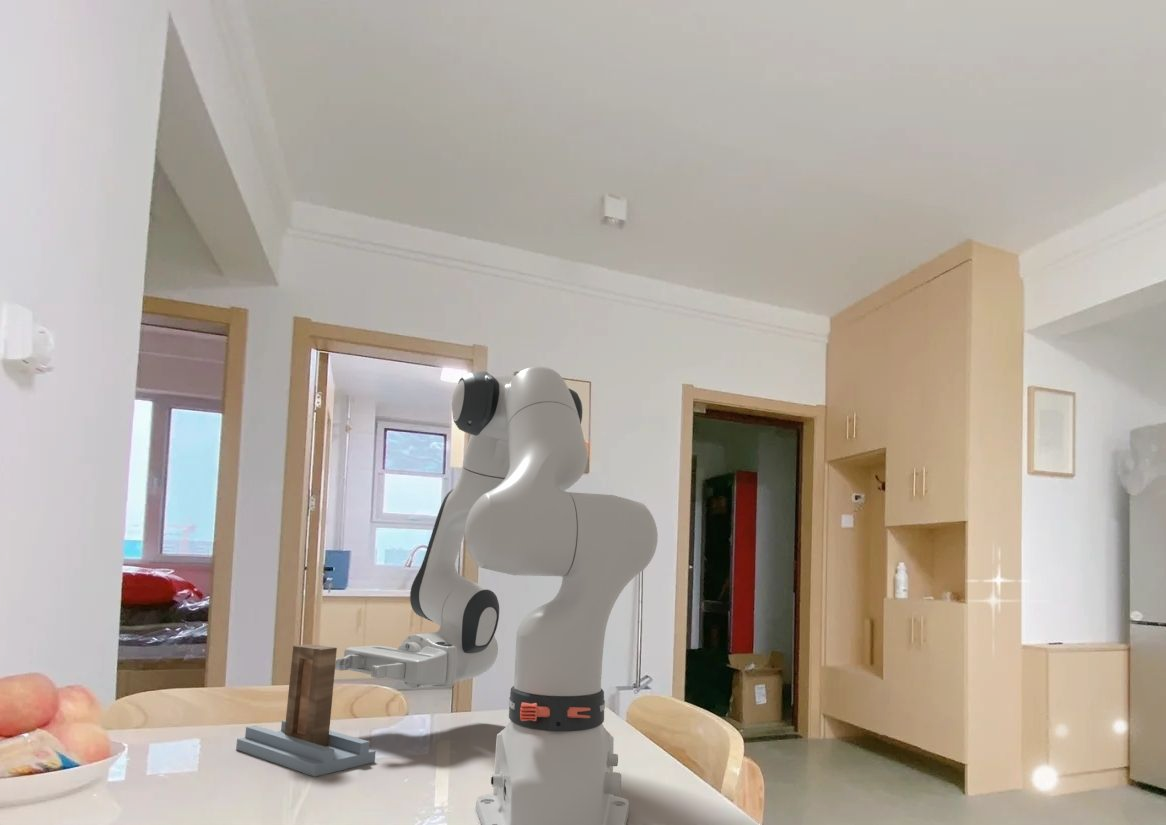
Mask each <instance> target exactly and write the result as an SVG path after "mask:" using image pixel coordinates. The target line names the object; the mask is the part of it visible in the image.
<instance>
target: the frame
mask: <svg viewBox="0 0 1166 825" xmlns="http://www.w3.org/2000/svg"><path fill="white" fill-rule="evenodd" d="M337 649H338V647H334V646H327V645H317V644H311V643H310V644H309V643H308V644H300V645H293V646H292V654H291V655H292V656H291V663H290V664H291V666H290V673H289V674H290V675H289V685H288V686H289V687H288V694H287V705H286V706H287V707H286V712H285V713H286V714H285V715H286V716H285V720H286V723H285V733H284V734H285V735H289V736H292V737H295V738H298V739H302V740H305V741H308V742H312V743H315V744H318V745H321V746H325V747H326V746H328V740H329V730H330V726H331V719H332V718H331V716H332V704H333V695H334V693H333V692H334V682H335V674H336V673H335V663H336V659H337V652H338V651H337Z"/></svg>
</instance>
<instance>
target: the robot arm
mask: <svg viewBox="0 0 1166 825" xmlns="http://www.w3.org/2000/svg"><path fill="white" fill-rule="evenodd" d="M457 382H458V383H457V385H456V387H455V388H454V391H453V393H452V396H451V397H452V398H451V412H452V419H453V422H454V424H455V426H456V427H457V428H458V430H460V431H462V432H464V433H467V434H469V435H470V436H469V438H468V442H467V445H466V449H465V453H464V458H463V461H462V467H461V471H460V475H459V478H458V481H457V483H456V485H455V486H454V488H452V489H451V490H449V491H448V493H447V494H446V495H445V497H444V498H443V500H442V503H441V505H440V507H439V511H438V513H437V516H436V520H435V523H434V525H433V529H432V532H431V536H430V538H429V542H428V544H427V548H426V551H425V554H424V557H423V560H422V563H421V566H420V568H419V570H418V572H417V574H416V576H415V578H414V579H413V581H412V584H411V587H410V593H409V599H410V600H409V601H410V607H411V608H412V611H413V612H414V613H415V614H416V615H417V616H418V617H421V618H423V619H425V620H427V621H430V622H432V623H435V624H437V625H438V626H439V629H438V631H436V632H426V633H415V634H414V633H413V634H410V635H408V636H407V637H406V638H404V640H403V641H402V642H401V644H400V645H399V647H392V646H386V645H361V646H348V647H347V648H345V649H344V650H343V651H344V652H343V657H338V658H337V657H336V663H335V670H336V671H340V672H342V671H352V672H357V673H361V674H365V675H366V674H367V675H370V676H371V677H372V678H375V679H384V678H386V679H390V680H394V681H395V680H396V681H400V682H403V683H404V684H405V685H406V686H408V687H410V688H411V689H418V688H427V687H433V686H434V687H444V688H445V687H452V686H455V684H456V682H461V681H466V680H469V679H473V678H476V677H479V676H481V675H483V674H485V673H487V671H489V670H490V669H491V668H492V667H493V665H495V663H496V660H497V657H498V654H499V653H498V652H499V646H498V645H499V644H498V642H497V641H498V640H497V639H496V636H495V634H496V632H497V629H498V624H499V618H500V603H499V600H498V596H497V595H496V593H495V592H493V591H492V590H490V589H488V588H487V587H485V586H483V585H481V584H479V583H478V582H475V581H472V580H471V579H468V577H467V578H466V577H464V576H463V575H461V574H460V573H459V572H458V570H457V568H456V561H457V559H458V555H459V551H460V548H461V545H462V542H463V539H465V544H466V548H467V550H468V553H469V555H470V557H471V559H472V560H473V561H474V563H475V564H476V565H477V566H478V567H479V568H482V569H485V570H490V571H494V572H498V573H501V574H507V575H512V576H523V577H524V576H525V577H527V576H529V577H531V576H532V577H562V580H561V585H560V588H559V589H558V590H559V591H558V592H557V593H556V595H555V597H554V598H553V599H552V600H550V601H549V602H546V603H545V604H542V605H541V606H539V607H537V608H535V609H534V610H531V611H530V612H529V613H528V614H526V616H524V618H523V619H522V620H521V621H520V624H519V625H518V628H517V630H516V637H515V639H516V641H515V659H514V679H513V680H514V682H513V685H512V687H511V688H510V692H509V693H510V694H509V698H508V718H509V722H508V723H507V725H506V726H505V727H504V728H503V729H502V730H500V732H499V733H497V734H496V742H495V743H496V744H495V756H494V758H495V759H494V771H493V774H492V776H491V778H490V784H491V786H492V793H487V794H483V795H482V794H481V795H480V796H478V797H477V798H476V804H475V809H476V814H477V815H478V819H479V820H480V824H481V825H627V822H628V818H629V813H630V804H629V803H630V802H629V800H628V799H626V798H624V797H621V796H619V795H621V793H622V773H620V772H614V767H618V764H619V755H618V754H617V753H614V741H615V740H614V739H615V738H614V736H613V735H611V733H610V732H609V731H608V730H607V729H606V727H605V726H604V724H603V723H604V722H605V709H606V700H605V691H604V690H603V688H602V675H603V674H602V671H603V670H602V669H603V656H604V645H605V636H606V628H607V625H608V621H609V618H610V615H611V612H612V610H613V608H614V606H615V603H616V601H617V600H618V598H619V596H620V595H621V593H622V592H623V590H624V589H625V587H627V585H628V584H629V583H630V582H631V581H632V580H633V579H634V578H635V577H636V576H637V575H639V574H641V573H642V572H643V571H644V570H645V569H646V568H647V567H648V566H649V564H650V563H651V562H652V560H653V558H654V556H655V553H656V550H657V546H658V538H659V535H658V529H657V528H658V527H657V524H656V520H655V519H654V516H653V514H652V512H651V511H650V509H649V508H648V507H647V506H646V505H645V504H644V503H642V502H638V501H636V500H632V499H629V498H625V497H621V496H618V495H613V494H602V493H601V494H600V493H588V492H587V493H586V492H570V491H569V492H568V491H566V490H569V489H570V487H572V486H573V485H575V484H576V483H577V482H578V481H579V480H580V479H581V478H582V476H583V475H584V473H585V471H586V469H587V465H588V461H589V460H588V458H589V456H588V455H589V454H588V450H587V446H586V441H585V437H584V433H583V429H582V421H583V403H582V400H581V398H580V396H579V394H578V393H577V392H576V391H575V390H573V389H571V388H569V387H568V385H567V384H566V382H565V380H564V378H563V377H562V376H561V375H560V373H558V372H557V371H555V370H554V369H552V368H549V367H547V366H540V365H539V366H538V365H537V366H531V367H527V368H524V369H523V370H520V371H519V372H518V373H516V374H515V375H512V374H503V373H502V374H501V373H489V372H487V371H472V372H468V373H466V374H465V375H463V376H461V378H460V379H459V380H458V381H457Z"/></svg>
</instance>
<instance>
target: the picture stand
mask: <svg viewBox="0 0 1166 825" xmlns="http://www.w3.org/2000/svg"><path fill="white" fill-rule="evenodd" d="M285 723H286V719H284V720H282V721H281V727H280V730H278V731H275V730H272V729H268V728H265V727H262V726H260V725H259V726H258V725H250V726H246V727H245V735H244V737H240V738H237V740H236V747H235V750H236V751H238V752H242V753H245V754H248V755H251V756H254V757H257V758H259V759H263V760H264V761H269V762H270V763H274V764H277V765H280V766H282V767H286V768H287V769H291V770H293V771H297V772H300V773H303V774H305V775H308V776H311V777H314V778H315V777H319V776H323V775H327V774H332V773H336V772H340V771H343V770H347V769H348V770H349V769H351V768H356V767H360V766H365V765H368V764H372V763H375V762H376V750H373V749H370V740H365V739H361V738H359V737H358V738H357V737H355V736H351V735H347V734H345V733H340V732H337V731H334V730H330V729H329V740H328V746H326V747H325V746H321V745H318V744H315V743H312V742H308V741H305V740H302V739H298V738H295V737H292V736H289V735H285V734H284V733H285Z"/></svg>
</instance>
